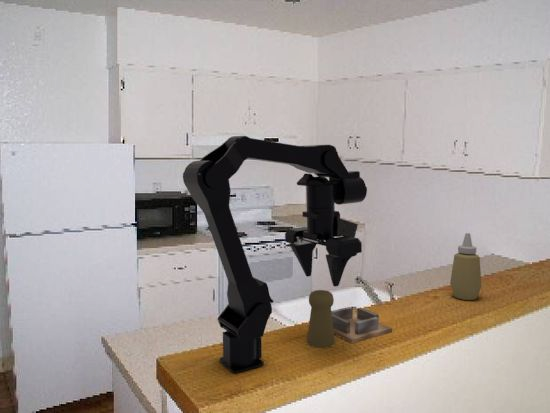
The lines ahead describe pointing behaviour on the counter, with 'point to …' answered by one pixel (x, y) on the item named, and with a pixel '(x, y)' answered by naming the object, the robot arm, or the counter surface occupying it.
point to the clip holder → (357, 324)
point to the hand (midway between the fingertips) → (321, 280)
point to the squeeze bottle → (466, 271)
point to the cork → (321, 319)
